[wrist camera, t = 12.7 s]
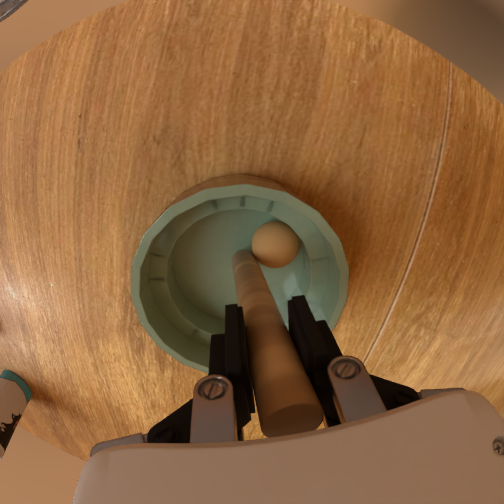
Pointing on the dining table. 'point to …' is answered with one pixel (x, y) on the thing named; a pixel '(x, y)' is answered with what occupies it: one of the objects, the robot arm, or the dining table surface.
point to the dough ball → (275, 244)
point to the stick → (273, 357)
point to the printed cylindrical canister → (11, 405)
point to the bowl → (229, 262)
